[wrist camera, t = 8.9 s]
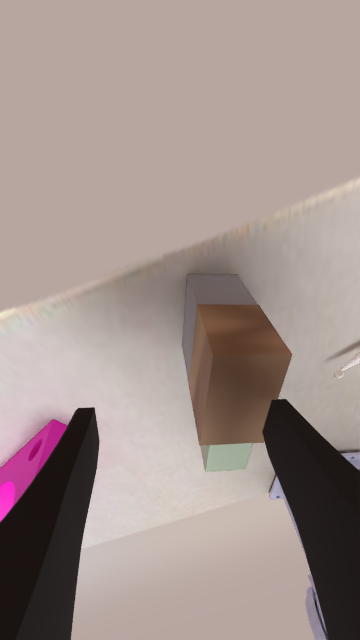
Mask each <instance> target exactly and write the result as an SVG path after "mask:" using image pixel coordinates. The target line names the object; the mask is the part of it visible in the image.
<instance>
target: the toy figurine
mask: <svg viewBox="0 0 360 640" xmlns="http://www.w3.org/2000/svg"><path fill="white" fill-rule="evenodd" d="M355 355H356V356H355V357H353V358H352V359H351V360H349V361H348V362H347V363H346V364H345V365H344V366H342V367H341V368H340V369H339V370H337V371H336V372H335V374H334V377H336V378H337V379H338V378H343V375H344V373H343V372H342V371H344V370H346V369H347V368H349V367H351V366H353V365H355V364H357V363H360V352H359V353H357V354H355Z"/></svg>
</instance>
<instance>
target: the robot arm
mask: <svg viewBox="0 0 360 640" xmlns="http://www.w3.org/2000/svg"><path fill="white" fill-rule="evenodd" d="M262 433H263V437H264V441H265V445H266V448H267V451H268V455H269V458H270V460H271V463H272V465H273V468H274V470H275V473H276V478H275V481H274V483H273V486H272V489H271V491H270V494H269V497H270V499H284V501H285V503H286V506H287V508H288V511H289V514H290V516H291V519H292V521H293V524H294V527H295V529H296V532H297V534H298V537H299V540H300V542H301V545H302V548H303V550H304V553H305V555H306V558H307V561H308V564H309V568H310V571H311V574H310V575H308V577H309V579H310V582H311V585H312V587H309V588H308V589H307V596H306V610H307V615H308V619H309V622H310V626H311V629H312V632H313V634H314V638H315V640H360V452H353V453H339V452H338V451H337V450H336V449H335V448H334V447H333V446H332V445H331V444H330V443H329V442H328V441H326V440H325V439H324V438H323V437H322V436H321V435H320V434H319V433H318V432H317V431H316V430H315V429H314V428H313V427H312V426H311V425H310V424H309V423H308V422H307V421H306V420H305V418H304V417H303V416H302V415H301V414H300V413H299V412H298V411H297V410H296V409H295V408H294V407H293V406H292V405H291V404H290V403H289V402H288V401H287V400H286V399H277V400H272V401H271V404H270V407H269V411H268V414H267V417H266V421H265V424H264V428H263V431H262ZM98 451H99V435H98V428H97V421H96V415H95V408H94V407H93V408H78V409H77V410H76V411H75V413H74V415H73V417H72V419H71V421H70V422H69V424H68V426H67V428H66V430H65V431H64V433H63V435H62V436H61V438H60V440H59V442H58V443H57V445H56V446H55V448H54V449H53V451H52V453H51V454H50V456H49V457H48V459H47V460H46V462H45V463H44V465H43V466H42V468H41V469H40V471H39V472H38V473H37V475H36V476H35V478H34V479H33V481H32V482H31V483H30V485H29V486H28V488H27V489H26V490H25V492H24V493H23V494H22V496H21V497H20V498H19V499H18V501H17V502H16V503H15V504H14V506H13V507H12V508H11V509H10V511H9V512H8V513H7V514H6V516H5V517H4V518H3V519H2V520H1V522H0V640H71V631H72V622H73V612H74V602H75V594H76V585H77V576H78V568H79V560H80V552H81V544H82V539H83V533H84V528H85V523H86V518H87V513H88V508H89V503H90V499H91V494H92V489H93V484H94V479H95V474H96V469H97V461H98Z"/></svg>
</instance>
